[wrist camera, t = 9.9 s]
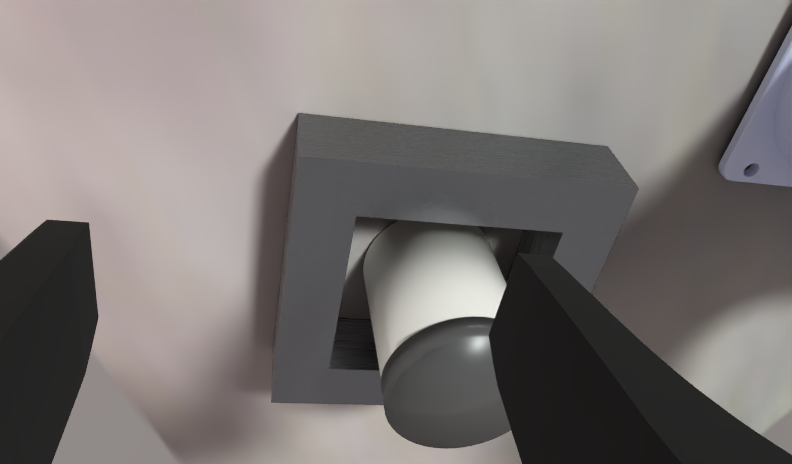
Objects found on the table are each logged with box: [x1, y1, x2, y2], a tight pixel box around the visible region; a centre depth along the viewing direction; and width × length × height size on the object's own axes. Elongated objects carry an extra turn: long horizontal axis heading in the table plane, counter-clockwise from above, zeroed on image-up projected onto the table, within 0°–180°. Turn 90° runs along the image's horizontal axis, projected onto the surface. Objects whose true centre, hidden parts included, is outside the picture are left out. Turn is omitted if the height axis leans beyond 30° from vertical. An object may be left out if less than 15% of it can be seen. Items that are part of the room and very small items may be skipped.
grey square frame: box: [271, 113, 639, 405], centre depth 23 cm, size 10×10×2 cm
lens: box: [363, 220, 511, 448], centre depth 22 cm, size 5×5×6 cm
